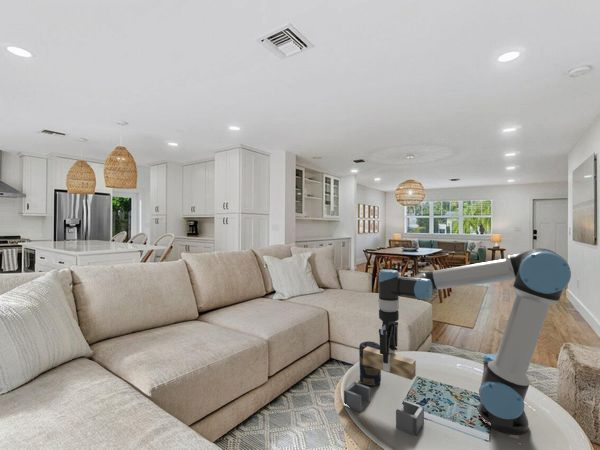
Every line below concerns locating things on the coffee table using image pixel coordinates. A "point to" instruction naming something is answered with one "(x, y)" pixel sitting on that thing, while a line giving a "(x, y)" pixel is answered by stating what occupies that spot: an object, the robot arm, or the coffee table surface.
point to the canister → (367, 372)
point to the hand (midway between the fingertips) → (389, 368)
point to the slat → (397, 363)
